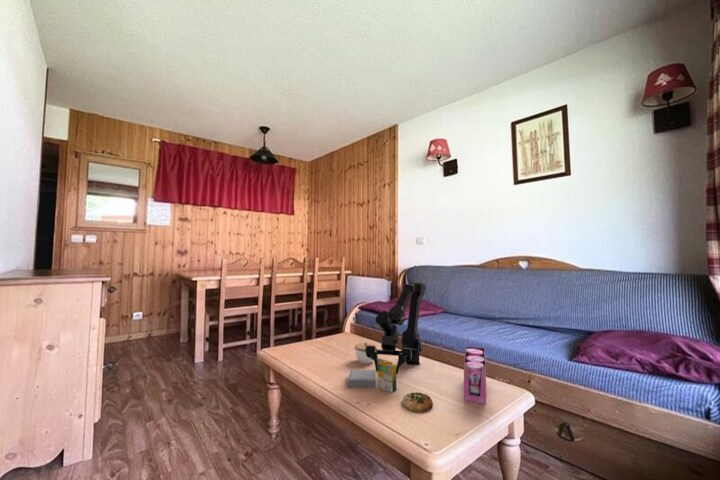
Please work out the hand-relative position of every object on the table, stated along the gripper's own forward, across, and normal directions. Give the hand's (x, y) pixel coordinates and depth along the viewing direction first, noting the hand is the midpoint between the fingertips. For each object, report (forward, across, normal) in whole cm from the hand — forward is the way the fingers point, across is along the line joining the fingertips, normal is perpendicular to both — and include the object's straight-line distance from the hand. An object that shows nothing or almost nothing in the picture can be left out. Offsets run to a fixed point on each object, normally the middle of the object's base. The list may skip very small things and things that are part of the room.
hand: (386, 373), depth 121 cm
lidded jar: (-16, -14, +26) cm, 33 cm away
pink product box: (-1, +34, +11) cm, 36 cm away
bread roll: (+11, +12, -1) cm, 17 cm away
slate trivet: (+1, -11, +9) cm, 14 cm away
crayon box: (+4, 0, +6) cm, 7 cm away
